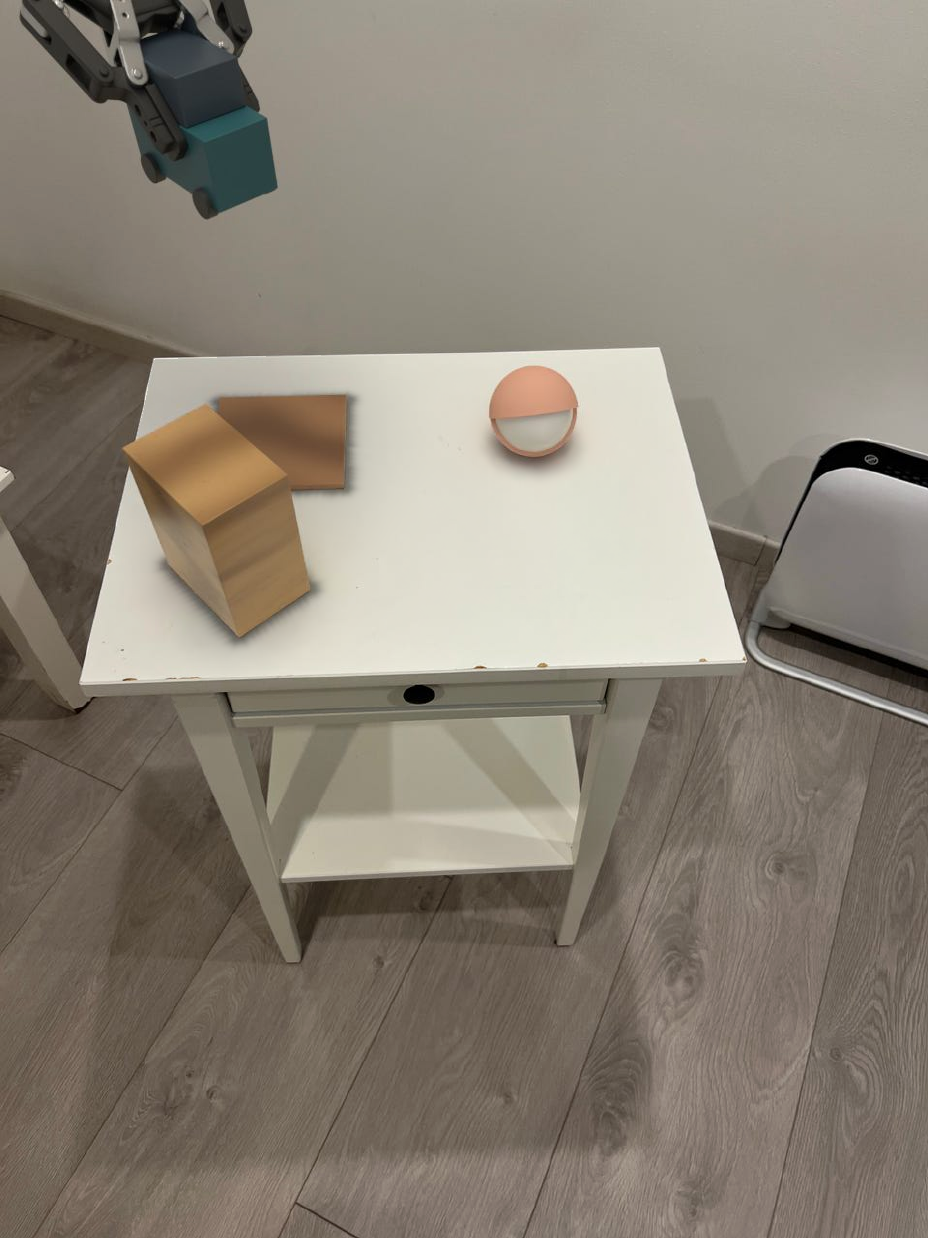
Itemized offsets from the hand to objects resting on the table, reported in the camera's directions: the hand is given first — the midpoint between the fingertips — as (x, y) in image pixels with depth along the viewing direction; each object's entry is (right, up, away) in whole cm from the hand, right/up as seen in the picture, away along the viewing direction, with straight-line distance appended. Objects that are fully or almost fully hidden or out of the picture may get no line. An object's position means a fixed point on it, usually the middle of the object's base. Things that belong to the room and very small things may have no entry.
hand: (216, 139), depth 54 cm
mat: (-1, -14, +26) cm, 29 cm away
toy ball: (+22, -14, +27) cm, 37 cm away
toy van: (-1, -1, +4) cm, 4 cm away
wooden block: (-3, -27, +16) cm, 31 cm away
